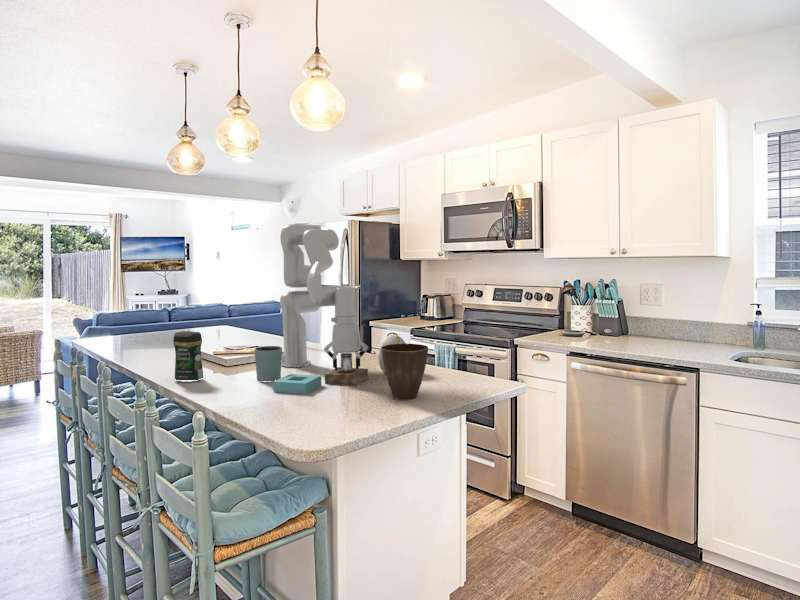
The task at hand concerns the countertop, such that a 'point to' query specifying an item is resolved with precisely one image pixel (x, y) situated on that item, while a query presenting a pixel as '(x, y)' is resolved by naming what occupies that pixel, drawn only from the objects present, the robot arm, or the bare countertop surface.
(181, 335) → the coffee jar
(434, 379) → the countertop surface
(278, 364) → the grey-blue cup
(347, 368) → the pin
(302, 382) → the socket block
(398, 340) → the decorative egg
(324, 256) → the robot arm
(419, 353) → the plant pot
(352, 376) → the mount block
